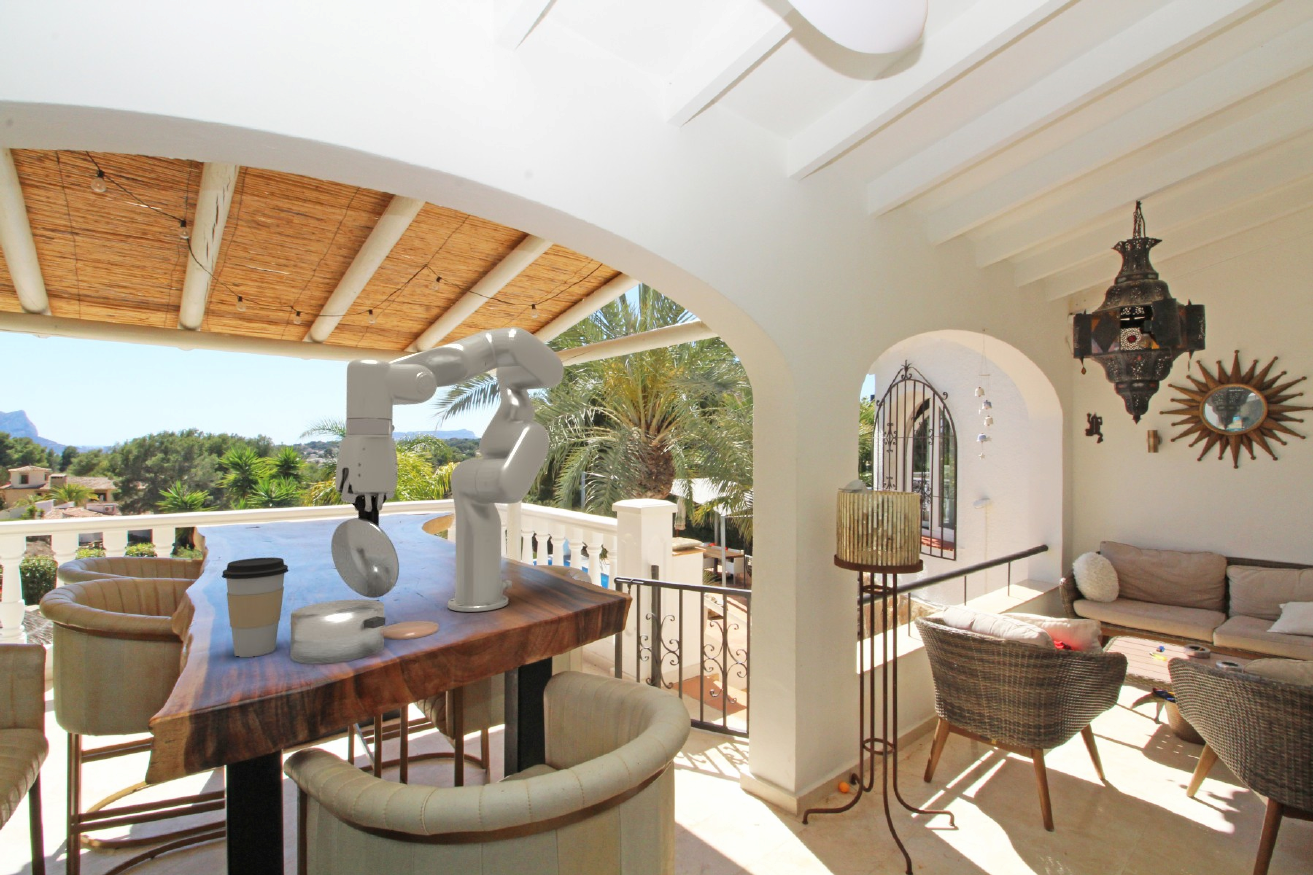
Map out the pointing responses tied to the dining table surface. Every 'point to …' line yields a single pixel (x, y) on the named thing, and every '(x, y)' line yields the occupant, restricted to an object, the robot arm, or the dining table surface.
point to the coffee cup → (255, 603)
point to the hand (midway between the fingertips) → (368, 533)
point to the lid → (365, 557)
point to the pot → (337, 631)
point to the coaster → (410, 630)
